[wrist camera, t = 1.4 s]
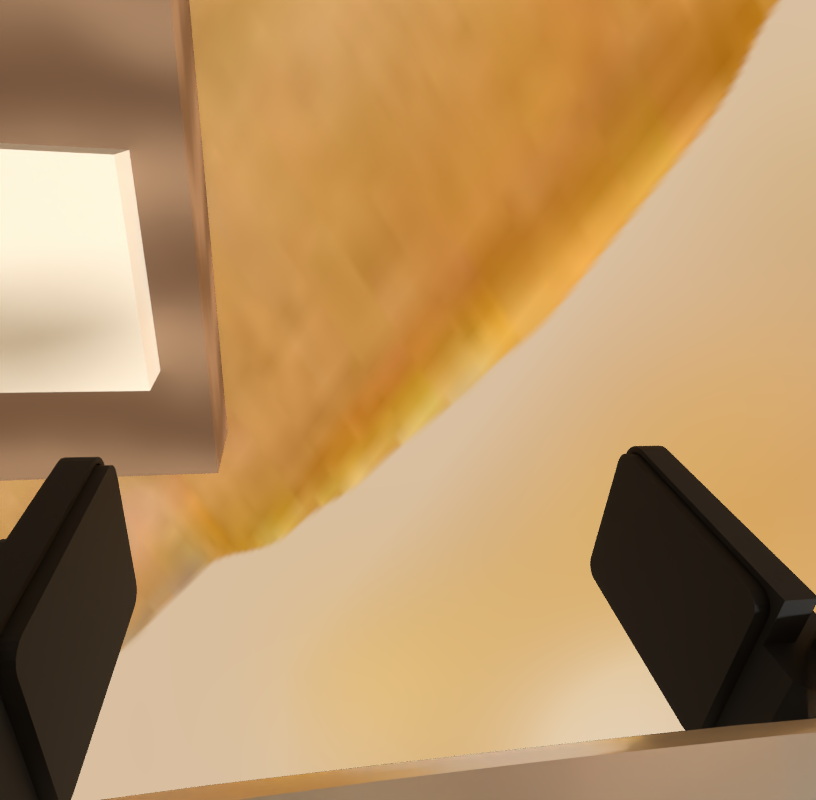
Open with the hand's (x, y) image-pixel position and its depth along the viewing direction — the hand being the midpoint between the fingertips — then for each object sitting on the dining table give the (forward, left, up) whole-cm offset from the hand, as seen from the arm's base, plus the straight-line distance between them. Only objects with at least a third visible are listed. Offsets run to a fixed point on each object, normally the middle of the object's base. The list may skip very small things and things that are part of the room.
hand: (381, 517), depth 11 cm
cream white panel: (0, -11, -16) cm, 20 cm away
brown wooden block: (0, -11, -20) cm, 23 cm away
